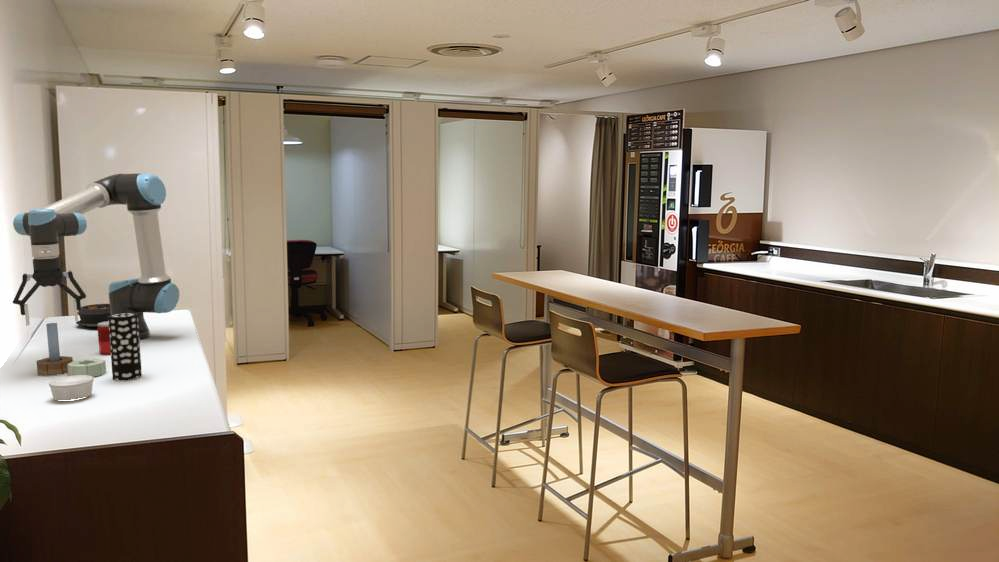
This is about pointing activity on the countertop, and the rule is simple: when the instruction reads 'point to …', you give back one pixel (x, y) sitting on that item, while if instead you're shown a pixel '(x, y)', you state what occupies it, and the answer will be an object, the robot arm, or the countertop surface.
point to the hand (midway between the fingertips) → (52, 322)
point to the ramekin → (71, 387)
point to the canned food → (104, 338)
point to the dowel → (53, 342)
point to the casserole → (93, 314)
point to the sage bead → (87, 367)
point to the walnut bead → (53, 366)
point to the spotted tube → (124, 346)
